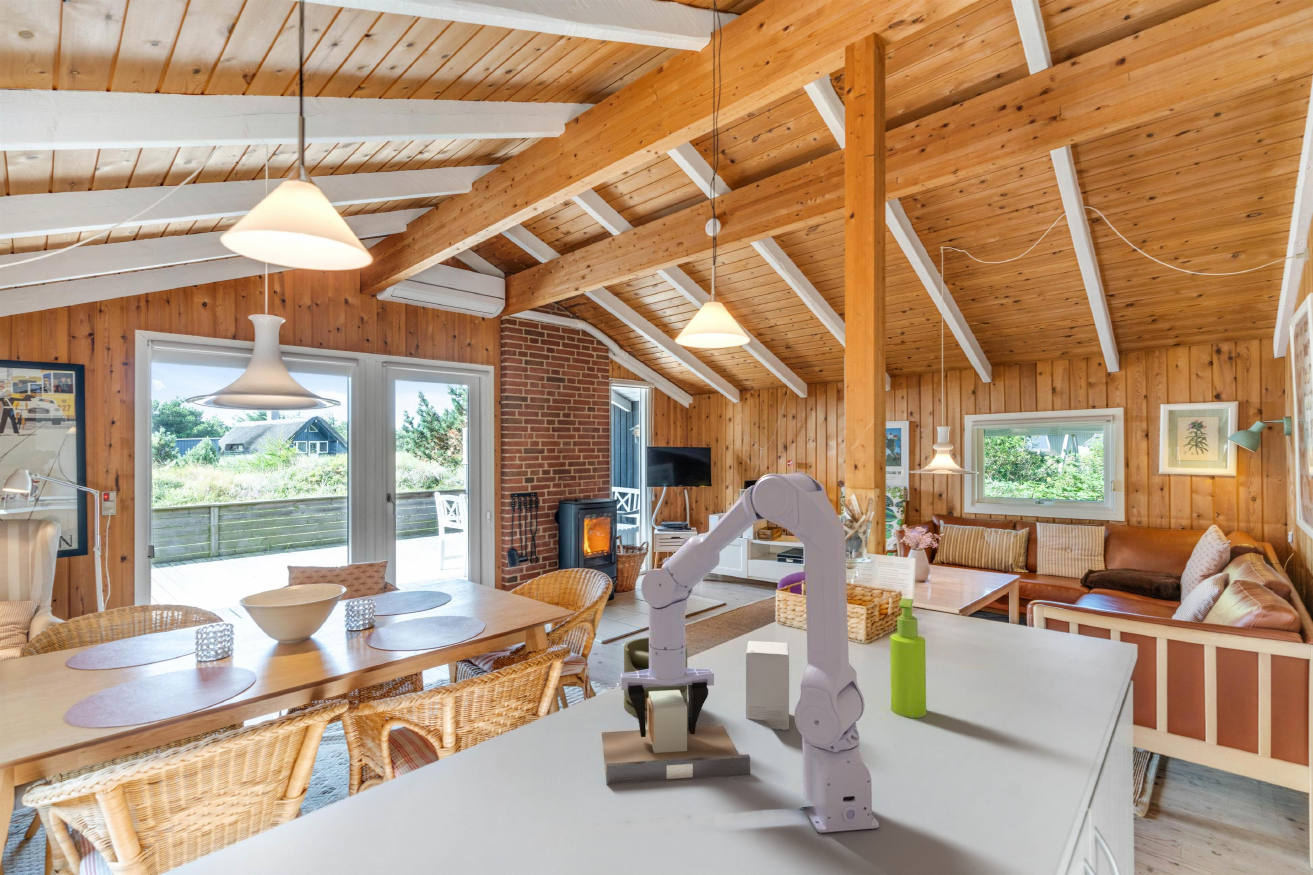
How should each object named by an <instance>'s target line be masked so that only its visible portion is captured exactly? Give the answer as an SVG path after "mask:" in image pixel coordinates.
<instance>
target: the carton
mask: <svg viewBox="0 0 1313 875" xmlns="http://www.w3.org/2000/svg"><path fill="white" fill-rule="evenodd" d="M646 720H647V721H646V723H647V730H648V731H649V735H650V739H651V743H652V747H653V751H654V753H662V752H678V751H687V727H688V705H687V706H686V704H685V702H684V699H683V697H682V695H681V693H680V690H667V691H649V698H647V719H646Z"/></svg>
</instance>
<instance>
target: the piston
mask: <svg viewBox="0 0 1313 875" xmlns="http://www.w3.org/2000/svg"><path fill="white" fill-rule="evenodd" d="M685 668H688V644H687V643H685ZM646 669H649V636H647V637H640V638H635V639H632V640H630V641H627V642H625V644H624V645H623V673H628V672H635V671H640V670H646ZM643 688H644V694H645V698H646V699H645V720H647V698H649V691H667V690H680V693H681V695H682V697H683V699H684V702H685V704H686V706H687V707H688V685H679V686H659V687H643ZM623 708H624V711H625V712H627V713H628V714H629V715H631V716H633V717H636V718H638V717H637V714H636V711H635V709H634V706H633V704H632V702H631V700H630V697H629V694H628V689H627V690H623Z"/></svg>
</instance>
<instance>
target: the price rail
mask: <svg viewBox="0 0 1313 875" xmlns="http://www.w3.org/2000/svg"><path fill="white" fill-rule="evenodd" d="M738 775H743V776H751V756H750V754H739V755H732V756H716V757H701V758H685V759H669V760H654V761H638V762H623V763H607V764H606V774H605V783H606V784H612V785H622V784H621V783H627V784H637V783H636V782H641V783H651V782H650V781H656V782H665V780H670V781H680V780H679V779H685V780H695V779H694V778H699V779H709V778H708V777H714V778H724V777H723V776H728V777H738ZM606 784H605V785H606Z"/></svg>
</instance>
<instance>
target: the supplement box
mask: <svg viewBox="0 0 1313 875" xmlns="http://www.w3.org/2000/svg"><path fill="white" fill-rule="evenodd" d="M746 644H747V646H746V652H745V719H748V720H761V721H765V722H766V723H767V725H768V726H769V727H770V729H771V728H773V729H772V730H779V729H783V730H782V731H788V730H789V729H790V652H789V651H790V650H789V643H788V642H782V641H781V642H779V641H760V640H759V641H758V640H757V641H756V640H755V641H754V640H748V641H747V643H746Z"/></svg>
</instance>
